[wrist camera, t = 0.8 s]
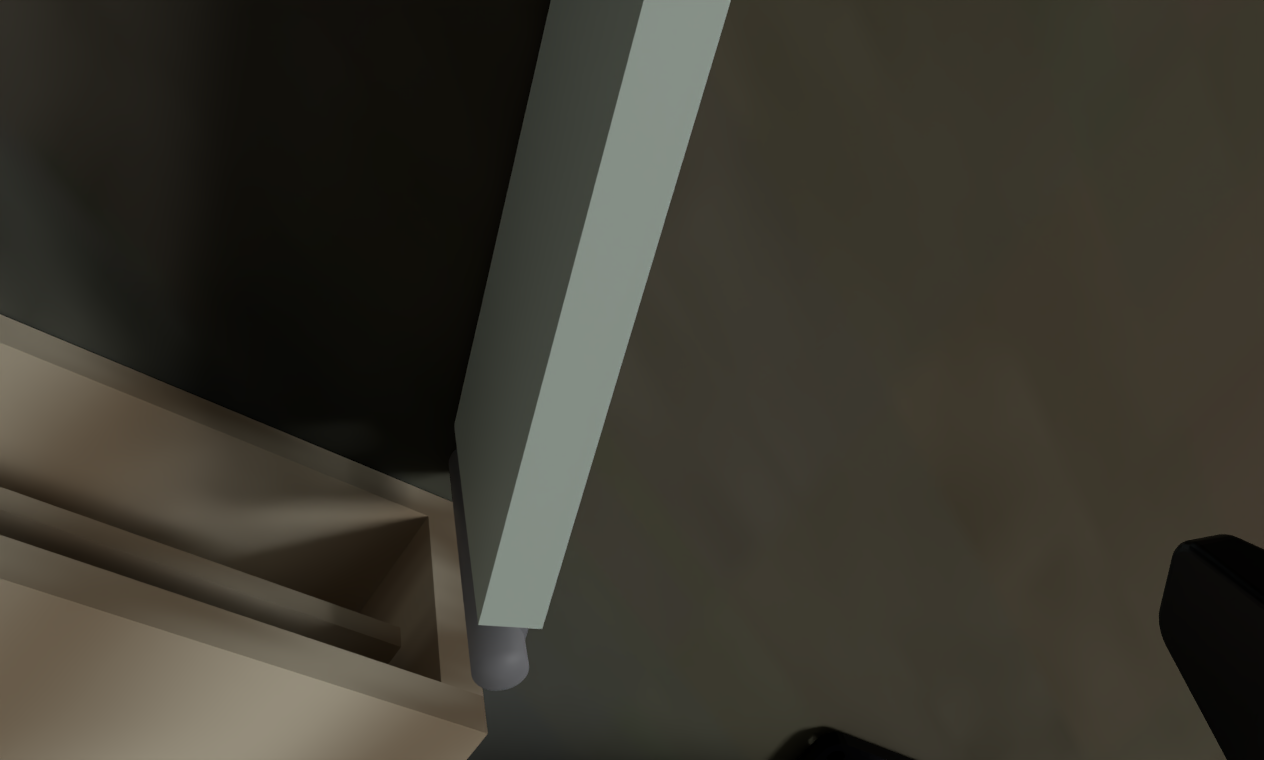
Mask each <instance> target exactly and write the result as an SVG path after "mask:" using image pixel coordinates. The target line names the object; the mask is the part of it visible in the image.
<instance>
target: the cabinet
mask: <svg viewBox="0 0 1264 760" xmlns="http://www.w3.org/2000/svg"><path fill="white" fill-rule="evenodd" d="M487 734H488V731H487V723H486V714H485V706H484V697H483V689H482V687H480V686H478V685H477V684H476V683H475V682H474V680H473V679H472V675H471V667H470V658H469V649H468V639H467V630H466V621H465V612H464V602H463V593H462V584H461V575H460V565H459V556H458V547H457V538H456V528H455V519H454V510H453V502H451V501H448V500H446V499H443V498H441V497H439V496H436V495H434V494H431V493H429V492H427V491H424V490H422V489H419V488H417V487H415V486H412V485H410V484H407V483H405V482H403V481H400V480H398V479H395V478H393V477H390V476H388V475H386V474H383V473H381V472H378V471H376V470H374V469H371V468H369V467H366V466H364V465H362V464H359V463H357V462H354V461H352V460H350V459H347V458H345V457H342V456H340V455H338V454H335V453H333V452H330V451H328V450H325V449H323V448H321V447H318V446H316V445H313V444H311V443H309V442H306V441H304V440H301V439H299V438H297V437H294V436H292V435H289V434H287V433H285V432H282V431H280V430H277V429H275V428H273V427H270V426H268V425H265V424H263V423H261V422H258V421H256V420H253V419H251V418H248V417H246V416H244V415H241V414H239V413H236V412H234V411H232V410H229V409H227V408H224V407H222V406H220V405H217V404H215V403H212V402H210V401H208V400H205V399H203V398H200V397H198V396H196V395H193V394H191V393H188V392H186V391H183V390H181V389H179V388H176V387H174V386H171V385H169V384H167V383H164V382H162V381H159V380H157V379H155V378H152V377H150V376H147V375H145V374H143V373H140V372H138V371H135V370H133V369H131V368H128V367H126V366H123V365H121V364H118V363H116V362H114V361H111V360H109V359H106V358H104V357H102V356H99V355H97V354H94V353H92V352H90V351H87V350H85V349H82V348H80V347H78V346H75V345H73V344H70V343H68V342H66V341H63V340H61V339H58V338H56V337H54V336H51V335H49V334H46V333H44V332H41V331H39V330H37V329H34V328H32V327H29V326H27V325H25V324H22V323H20V322H17V321H15V320H13V319H10V318H8V317H5V316H3V315H1V314H0V760H467V759H468V757H469V756H470V755H471V754H472V752H473V751H474V750H475V749H476V748H477V746H478V745H479V744H480V743H481V741H482V740H483V739H484V738H485V736H486V735H487Z"/></svg>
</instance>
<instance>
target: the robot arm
mask: <svg viewBox="0 0 1264 760" xmlns="http://www.w3.org/2000/svg"><path fill="white" fill-rule="evenodd" d="M1159 625H1160V630H1161V634H1162V637H1163V640H1164V642H1165V644H1166V646H1167V648H1168V650H1169V652H1170V654H1171V656H1172V658H1173V660H1174V661H1175V663H1176V665H1177V667H1178V669H1179V671H1180V673H1181V675H1182V676H1183V678H1184V680H1185V682H1186V684H1187V686H1188V688H1189V689H1190V691H1191V693H1192V695H1193V697H1194V699H1195V701H1196V703H1197V704H1198V706H1199V708H1200V710H1201V712H1202V714H1203V716H1204V718H1205V719H1206V721H1207V723H1208V725H1209V727H1210V729H1211V731H1212V733H1213V734H1214V736H1215V738H1216V740H1217V742H1218V744H1219V746H1220V748H1221V749H1222V751H1223V753H1224V755H1225V757H1226V759H1227V760H1264V549H1262V548H1260V547H1257V546H1255V545H1253V544H1251V543H1249V542H1246V541H1244V540H1242V539H1240V538H1237V537H1235V536H1232V535H1225V534H1219V535H1214V536H1209V537H1204V538H1198V539H1193V540H1188V541H1185V542H1183V543H1181V544H1180V545H1179V546H1178V547H1177V548H1176V549H1175V551H1174V553H1173V556H1172V560H1171V564H1170V568H1169V572H1168V577H1167V581H1166V585H1165V589H1164V593H1163V598H1162V602H1161V606H1160V611H1159ZM798 760H913V759H910V758H908V757H905V756H902V755H900V754H897V753H894V752H892V751H889V750H886V749H884V748H881V747H878V746H876V745H873V744H871V743H868V742H865V741H863V740H860V739H857V738H855V737H852V736H849V735H847V734H844V733H840V732H831V733H827V734H825V735H822V736H821V737H820V738H818V739H817V740H816V741H815V742H814V743H813V744H812V745H811V746H810V747H809V748H808V749H807V750H806V751H805V752H804V753H803V754H802V755H801V756H800V757H799V758H798Z"/></svg>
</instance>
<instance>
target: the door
mask: <svg viewBox="0 0 1264 760" xmlns="http://www.w3.org/2000/svg"><path fill="white" fill-rule="evenodd" d="M730 1H731V0H551V2H550V6H549V11H548V15H547V19H546V24H545V28H544V33H543V37H542V41H541V46H540V50H539V55H538V59H537V63H536V68H535V72H534V77H533V81H532V85H531V90H530V94H529V98H528V103H527V107H526V112H525V116H524V120H523V125H522V129H521V134H520V138H519V142H518V147H517V151H516V156H515V160H514V164H513V169H512V173H511V178H510V182H509V186H508V191H507V195H506V200H505V204H504V208H503V213H502V217H501V222H500V226H499V230H498V235H497V239H496V244H495V248H494V252H493V257H492V261H491V266H490V270H489V274H488V279H487V283H486V288H485V292H484V296H483V301H482V305H481V310H480V314H479V318H478V323H477V327H476V332H475V336H474V340H473V345H472V349H471V354H470V358H469V362H468V367H467V371H466V376H465V380H464V384H463V389H462V393H461V398H460V402H459V406H458V411H457V415H456V420H455V424H454V429H455V437H456V445H457V449H456V450H454V451H453V453H452V454H451V456H450V458H449V473H450V482H451V491H452V501H453V510H454V519H455V528H456V538H457V547H458V556H459V565H460V575H461V584H462V593H463V602H464V612H465V621H466V630H467V639H468V649H469V658H470V667H471V675H472V679H473V680H474V682H475V683H476V684H477V685H478V686H480V687H482V688H484V689H487V690H492V691H500V690H506V689H509V688H512V687H514V686H516V685H518V684H519V683H520V682H522V681H523V680H524V678H525V677H526V675H527V674H528V671H529V662H528V656H527V650H526V644H525V639H526V635H527V632H528V628H534V629H542V628H543V624H544V621H545V618H546V614H547V611H548V608H549V604H550V601H551V598H552V594H553V591H554V588H555V584H556V581H557V578H558V574H559V571H560V568H561V564H562V561H563V558H564V554H565V551H566V548H567V544H568V541H569V538H570V534H571V531H572V528H573V524H574V521H575V518H576V514H577V511H578V508H579V504H580V501H581V498H582V494H583V491H584V488H585V484H586V481H587V478H588V474H589V471H590V468H591V464H592V461H593V458H594V454H595V451H596V448H597V444H598V441H599V438H600V434H601V431H602V428H603V424H604V421H605V418H606V414H607V411H608V408H609V404H610V401H611V398H612V394H613V391H614V388H615V384H616V381H617V378H618V374H619V371H620V368H621V364H622V361H623V358H624V354H625V351H626V348H627V344H628V341H629V338H630V334H631V331H632V328H633V324H634V321H635V318H636V314H637V311H638V308H639V304H640V301H641V298H642V294H643V291H644V288H645V284H646V281H647V278H648V274H649V271H650V268H651V264H652V261H653V258H654V254H655V251H656V248H657V244H658V241H659V238H660V234H661V231H662V228H663V224H664V221H665V218H666V214H667V211H668V208H669V204H670V201H671V198H672V194H673V191H674V188H675V184H676V181H677V178H678V174H679V171H680V168H681V164H682V161H683V158H684V154H685V151H686V148H687V144H688V141H689V138H690V134H691V131H692V128H693V125H694V121H695V118H696V115H697V111H698V108H699V105H700V101H701V98H702V95H703V91H704V88H705V85H706V81H707V78H708V75H709V71H710V68H711V65H712V61H713V58H714V55H715V51H716V48H717V45H718V41H719V38H720V35H721V31H722V28H723V25H724V21H725V18H726V15H727V11H728V8H729V5H730Z"/></svg>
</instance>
